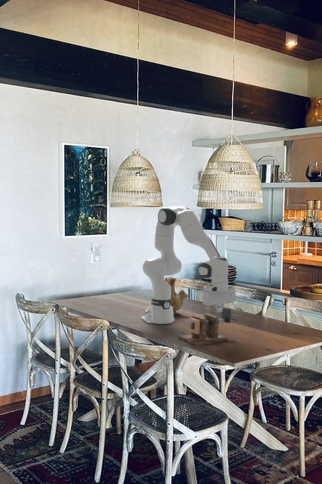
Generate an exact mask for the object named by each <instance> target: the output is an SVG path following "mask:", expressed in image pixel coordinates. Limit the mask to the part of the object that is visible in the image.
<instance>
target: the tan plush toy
mask: <svg viewBox="0 0 322 484" xmlns="http://www.w3.org/2000/svg"><path fill="white" fill-rule="evenodd" d="M164 279H165V282H167V283H169V284H170V286H171V299H172V304H171V306H172V307H173V316H176V315H177V311H179V310H181V308H182V307H183V304H184V299H187V298H189V297H190V294H188V293H186V292H185V290H184V289H181V290H179V292H178V293H177V292H176V289H175V285H176V280H177V278H175V277H171V276H167V277H164Z"/></svg>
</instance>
